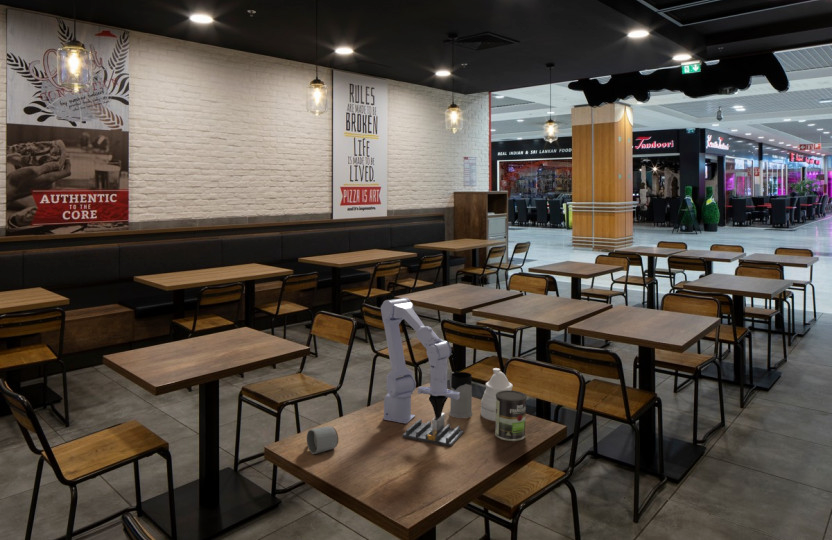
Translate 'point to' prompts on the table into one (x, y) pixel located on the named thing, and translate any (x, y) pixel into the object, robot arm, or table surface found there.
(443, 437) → the rack
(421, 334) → the robot arm
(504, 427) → the coffee can
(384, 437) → the table surface
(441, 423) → the panel
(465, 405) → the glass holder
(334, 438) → the ceramic mug
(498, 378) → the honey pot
